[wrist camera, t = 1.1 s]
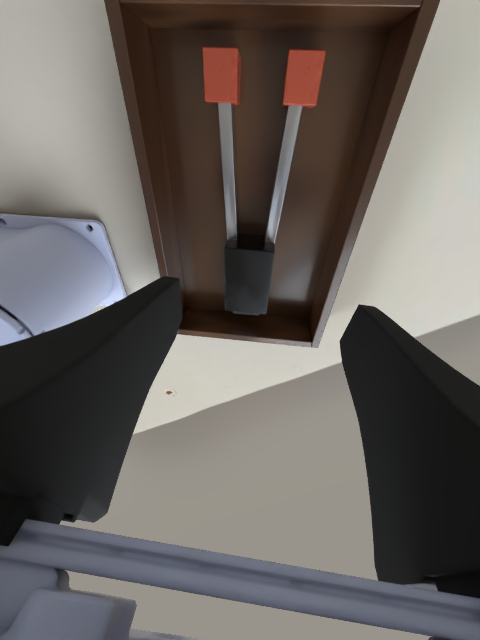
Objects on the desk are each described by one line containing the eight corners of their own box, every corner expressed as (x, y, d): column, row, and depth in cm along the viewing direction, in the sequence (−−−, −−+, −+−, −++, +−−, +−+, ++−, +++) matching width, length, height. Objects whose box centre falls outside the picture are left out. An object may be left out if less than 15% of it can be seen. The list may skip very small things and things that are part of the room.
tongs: (320, 57, 11) (332, 41, 9) (277, 309, 21) (278, 329, 19) (209, 54, 12) (194, 38, 9) (217, 303, 21) (211, 323, 19)
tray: (183, 309, 23) (171, 333, 20) (139, 11, 11) (98, -25, 9) (312, 321, 22) (317, 348, 19) (403, 16, 11) (448, -22, 8)
